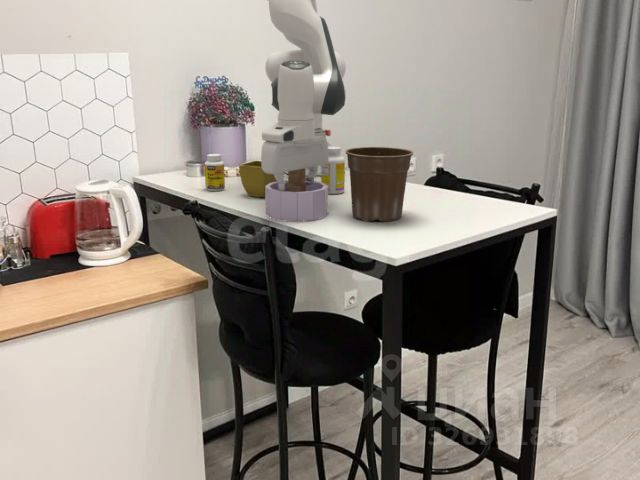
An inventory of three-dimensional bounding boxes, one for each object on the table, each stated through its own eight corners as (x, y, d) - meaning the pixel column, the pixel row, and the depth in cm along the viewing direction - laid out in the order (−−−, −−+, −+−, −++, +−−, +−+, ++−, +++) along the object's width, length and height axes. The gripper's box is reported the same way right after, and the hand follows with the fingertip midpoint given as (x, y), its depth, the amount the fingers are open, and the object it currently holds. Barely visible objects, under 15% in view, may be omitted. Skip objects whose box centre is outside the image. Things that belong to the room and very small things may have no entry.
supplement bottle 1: (205, 192, 185) (203, 156, 182) (206, 188, 190) (204, 153, 187) (225, 191, 185) (223, 156, 183) (225, 187, 191) (223, 153, 188)
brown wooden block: (296, 208, 163) (296, 153, 159) (305, 210, 161) (305, 154, 157) (288, 210, 161) (287, 154, 157) (297, 212, 159) (296, 156, 155)
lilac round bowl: (296, 203, 171) (296, 177, 169) (339, 213, 162) (339, 185, 160) (254, 213, 161) (253, 186, 159) (297, 224, 151) (297, 195, 149)
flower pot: (238, 196, 179) (237, 164, 177) (256, 190, 187) (255, 160, 184) (265, 200, 175) (264, 167, 173) (282, 194, 183) (281, 162, 180)
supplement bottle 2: (345, 190, 188) (345, 146, 184) (343, 195, 182) (344, 149, 178) (322, 189, 189) (322, 145, 185) (320, 194, 182) (320, 149, 179)
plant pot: (369, 205, 170) (371, 144, 166) (422, 215, 160) (425, 150, 156) (331, 217, 158) (331, 151, 153) (386, 228, 148) (388, 158, 144)
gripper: (315, 126, 165) (315, 179, 169) (256, 133, 150) (257, 191, 154) (334, 128, 161) (334, 182, 164) (275, 136, 146) (276, 195, 150)
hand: (296, 187), depth 159 cm, fingers open, 8 cm apart
